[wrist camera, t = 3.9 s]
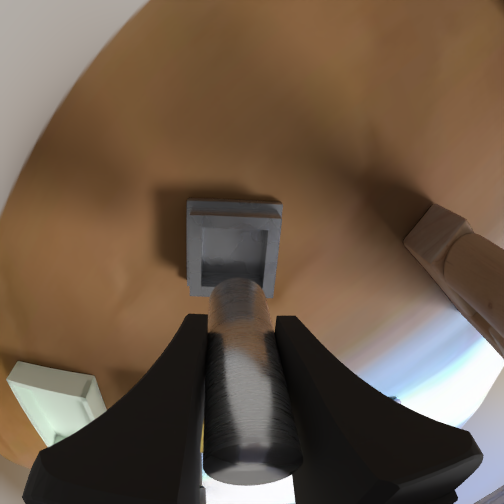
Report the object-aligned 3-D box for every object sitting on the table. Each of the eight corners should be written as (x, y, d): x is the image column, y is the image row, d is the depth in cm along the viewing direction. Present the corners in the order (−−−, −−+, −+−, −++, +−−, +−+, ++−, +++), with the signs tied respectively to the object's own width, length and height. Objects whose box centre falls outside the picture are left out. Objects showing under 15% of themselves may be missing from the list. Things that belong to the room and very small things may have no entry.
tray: (94, 375, 21) (85, 398, 19) (122, 446, 25) (118, 465, 23) (17, 360, 20) (6, 379, 18) (56, 432, 24) (50, 450, 22)
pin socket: (280, 201, 17) (288, 213, 15) (272, 283, 19) (277, 302, 17) (188, 197, 16) (183, 208, 14) (188, 280, 18) (184, 300, 16)
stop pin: (268, 278, 12) (313, 439, 5) (263, 326, 13) (294, 482, 6) (209, 276, 12) (200, 443, 5) (209, 325, 12) (205, 485, 6)
